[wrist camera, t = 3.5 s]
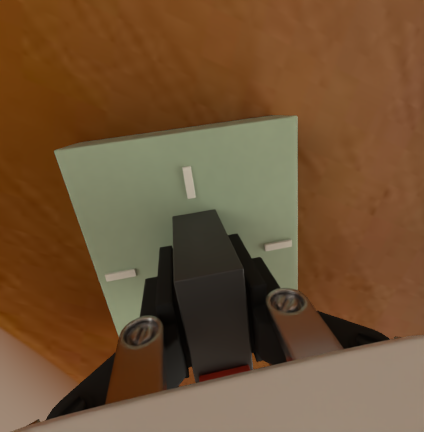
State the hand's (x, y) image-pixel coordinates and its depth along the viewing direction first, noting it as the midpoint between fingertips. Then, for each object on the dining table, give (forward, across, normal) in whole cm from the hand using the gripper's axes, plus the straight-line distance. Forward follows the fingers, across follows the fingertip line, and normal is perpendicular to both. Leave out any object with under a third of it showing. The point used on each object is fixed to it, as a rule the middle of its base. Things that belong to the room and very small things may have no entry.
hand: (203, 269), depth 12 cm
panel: (+4, 0, 0) cm, 4 cm away
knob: (+1, 0, 0) cm, 1 cm away
